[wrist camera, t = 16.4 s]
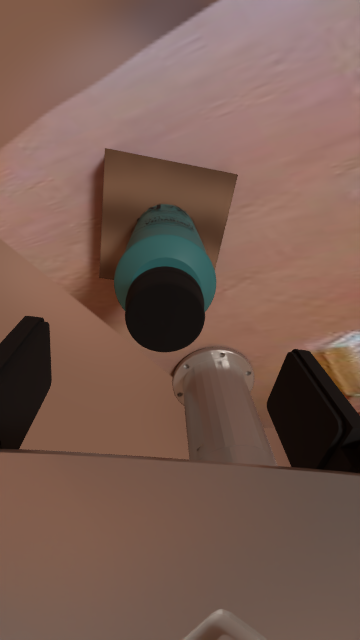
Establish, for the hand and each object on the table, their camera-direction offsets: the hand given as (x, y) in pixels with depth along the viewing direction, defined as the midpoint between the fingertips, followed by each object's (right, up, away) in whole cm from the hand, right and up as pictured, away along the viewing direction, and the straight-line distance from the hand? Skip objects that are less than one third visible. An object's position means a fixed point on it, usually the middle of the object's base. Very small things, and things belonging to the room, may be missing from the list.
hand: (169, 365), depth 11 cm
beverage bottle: (-1, +11, +20) cm, 23 cm away
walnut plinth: (-2, +13, +22) cm, 26 cm away
